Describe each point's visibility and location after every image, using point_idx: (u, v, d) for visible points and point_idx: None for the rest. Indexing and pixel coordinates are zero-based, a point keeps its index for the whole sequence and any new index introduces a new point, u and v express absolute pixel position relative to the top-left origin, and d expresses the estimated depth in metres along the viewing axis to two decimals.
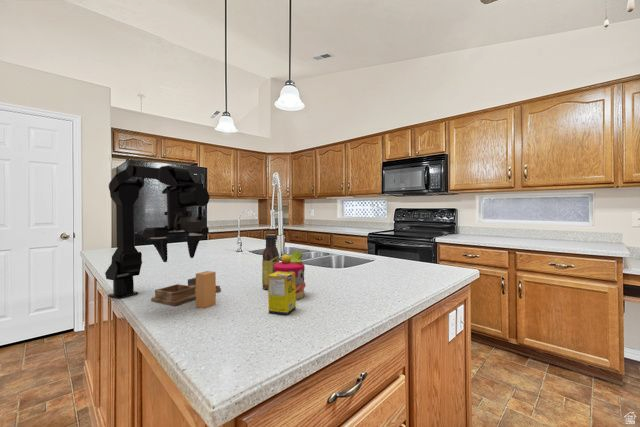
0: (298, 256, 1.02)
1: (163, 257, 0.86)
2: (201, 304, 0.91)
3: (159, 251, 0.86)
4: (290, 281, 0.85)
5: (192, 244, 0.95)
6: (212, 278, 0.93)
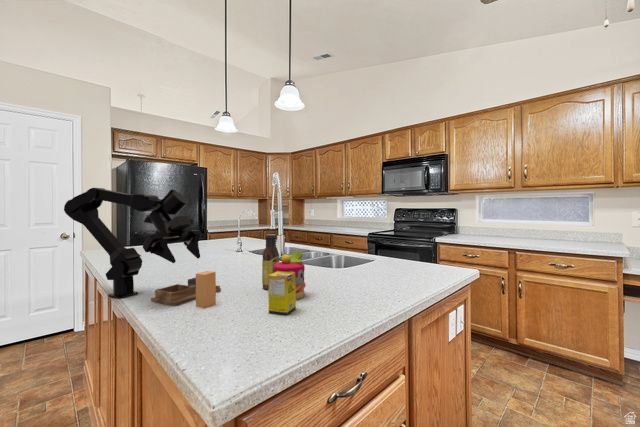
0: (298, 256, 1.02)
1: (170, 258, 0.92)
2: (201, 304, 0.91)
3: (165, 257, 0.92)
4: (290, 281, 0.85)
5: (193, 247, 1.01)
6: (212, 278, 0.93)
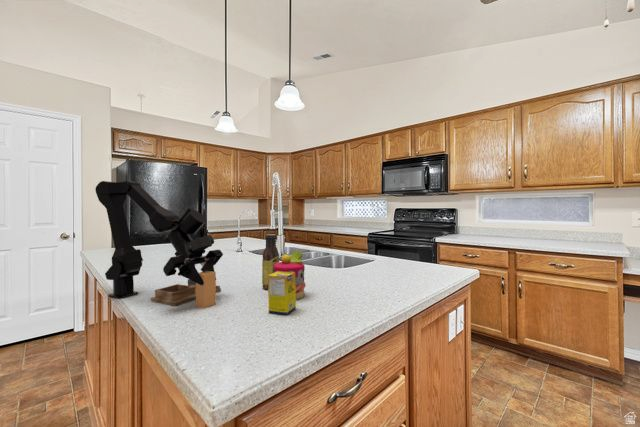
0: (298, 256, 1.02)
1: (199, 281, 0.90)
2: (201, 304, 0.91)
3: (192, 279, 0.90)
4: (290, 281, 0.85)
5: (209, 269, 0.95)
6: (212, 278, 0.93)
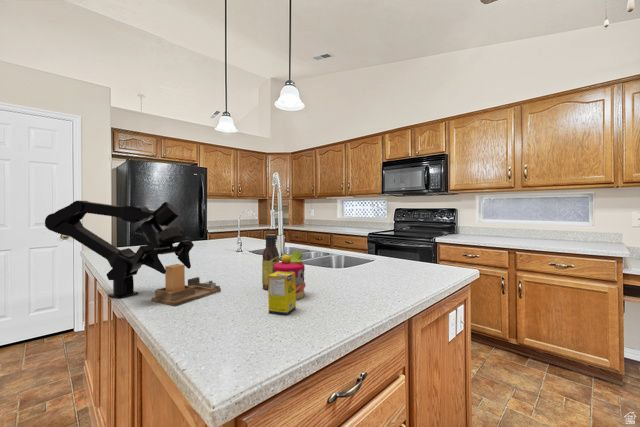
0: (298, 256, 1.02)
1: (161, 269, 0.94)
2: None
3: (155, 268, 0.95)
4: (290, 281, 0.85)
5: (184, 257, 1.04)
6: (181, 271, 0.99)
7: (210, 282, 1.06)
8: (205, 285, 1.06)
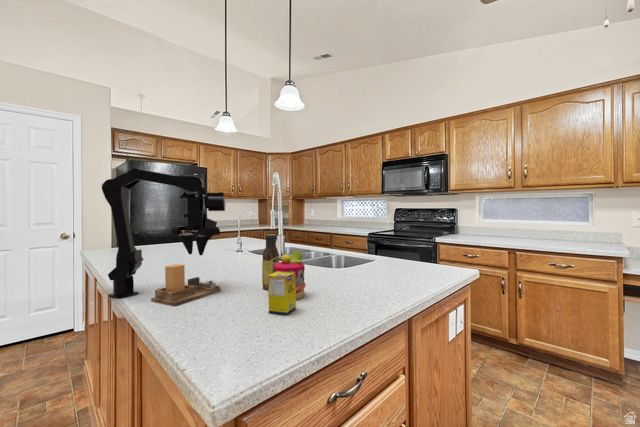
0: (298, 256, 1.02)
1: (202, 251, 1.07)
2: None
3: (200, 247, 1.06)
4: (290, 281, 0.85)
5: (190, 242, 1.10)
6: (181, 271, 0.99)
7: (210, 282, 1.06)
8: (205, 285, 1.06)
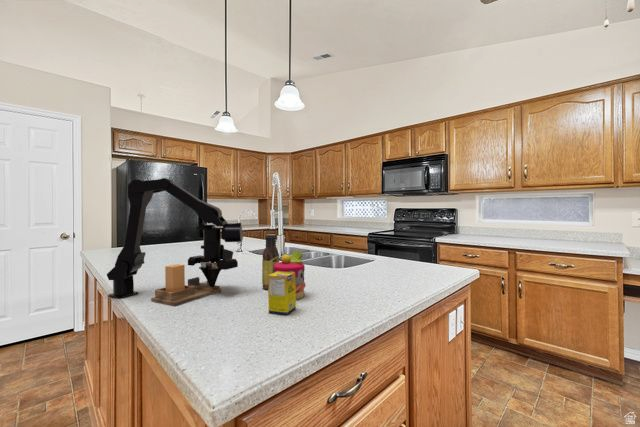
0: (298, 256, 1.02)
1: (214, 282, 1.06)
2: None
3: (212, 278, 1.05)
4: (290, 281, 0.85)
5: None
6: (181, 271, 0.99)
7: None
8: (203, 285, 1.07)
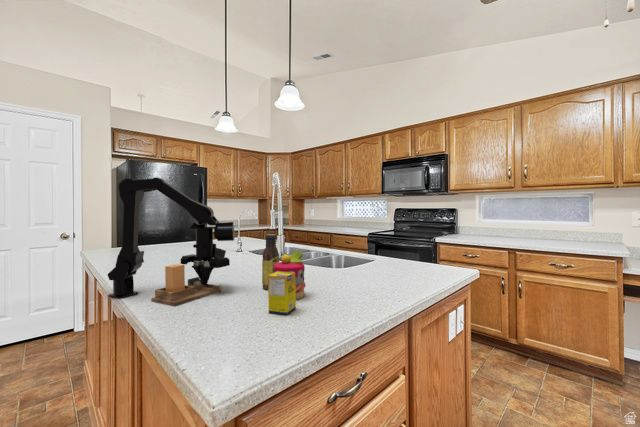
0: (298, 256, 1.02)
1: (206, 281, 1.08)
2: None
3: (205, 277, 1.07)
4: (290, 281, 0.85)
5: None
6: (181, 271, 0.99)
7: (200, 281, 1.09)
8: (196, 284, 1.09)
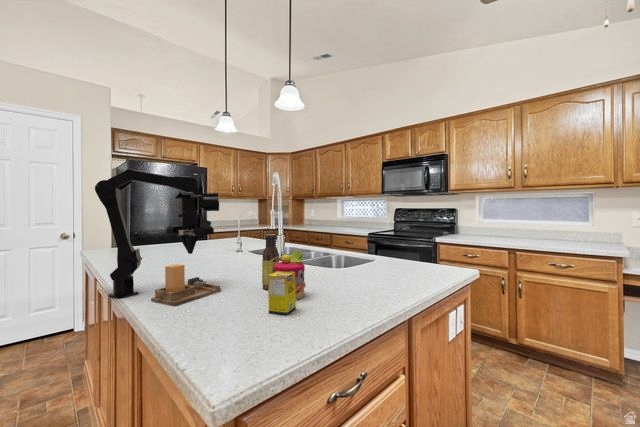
0: (298, 256, 1.02)
1: (192, 249, 1.11)
2: None
3: (190, 245, 1.10)
4: (290, 281, 0.85)
5: None
6: (181, 271, 0.99)
7: (200, 281, 1.09)
8: (196, 284, 1.09)
